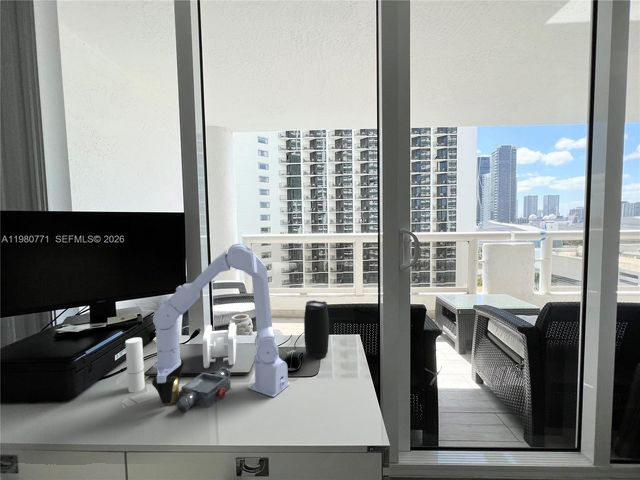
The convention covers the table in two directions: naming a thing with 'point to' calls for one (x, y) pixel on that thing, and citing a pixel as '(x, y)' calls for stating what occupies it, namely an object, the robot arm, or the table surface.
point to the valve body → (204, 390)
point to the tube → (135, 364)
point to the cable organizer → (219, 344)
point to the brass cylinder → (174, 392)
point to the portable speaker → (316, 329)
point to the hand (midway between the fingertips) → (170, 394)
